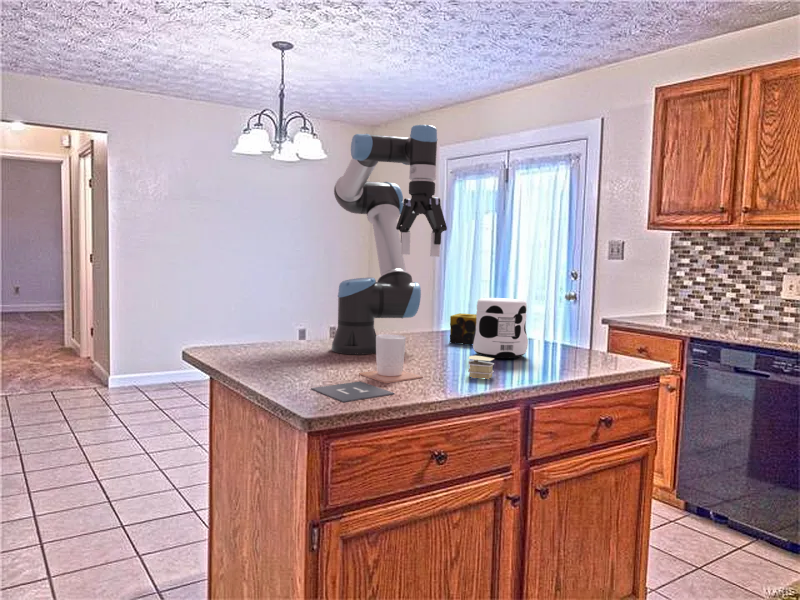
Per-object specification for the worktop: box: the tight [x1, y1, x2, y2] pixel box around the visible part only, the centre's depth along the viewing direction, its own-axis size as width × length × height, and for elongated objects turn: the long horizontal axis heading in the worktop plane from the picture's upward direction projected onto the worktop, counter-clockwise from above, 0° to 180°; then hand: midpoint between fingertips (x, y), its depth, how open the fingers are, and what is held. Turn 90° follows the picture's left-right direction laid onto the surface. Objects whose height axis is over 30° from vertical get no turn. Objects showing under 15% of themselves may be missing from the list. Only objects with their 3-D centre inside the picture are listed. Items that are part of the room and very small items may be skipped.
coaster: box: [358, 370, 424, 384], centre depth 163 cm, size 12×12×1 cm
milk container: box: [472, 297, 529, 359], centre depth 197 cm, size 17×17×18 cm
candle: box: [449, 313, 476, 345], centre depth 223 cm, size 10×10×10 cm
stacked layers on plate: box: [468, 355, 495, 380], centre depth 165 cm, size 10×9×6 cm
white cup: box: [375, 333, 407, 376], centre depth 164 cm, size 8×8×10 cm
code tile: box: [311, 380, 395, 403], centre depth 145 cm, size 14×14×1 cm
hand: (419, 255), depth 180 cm, fingers open, 13 cm apart
